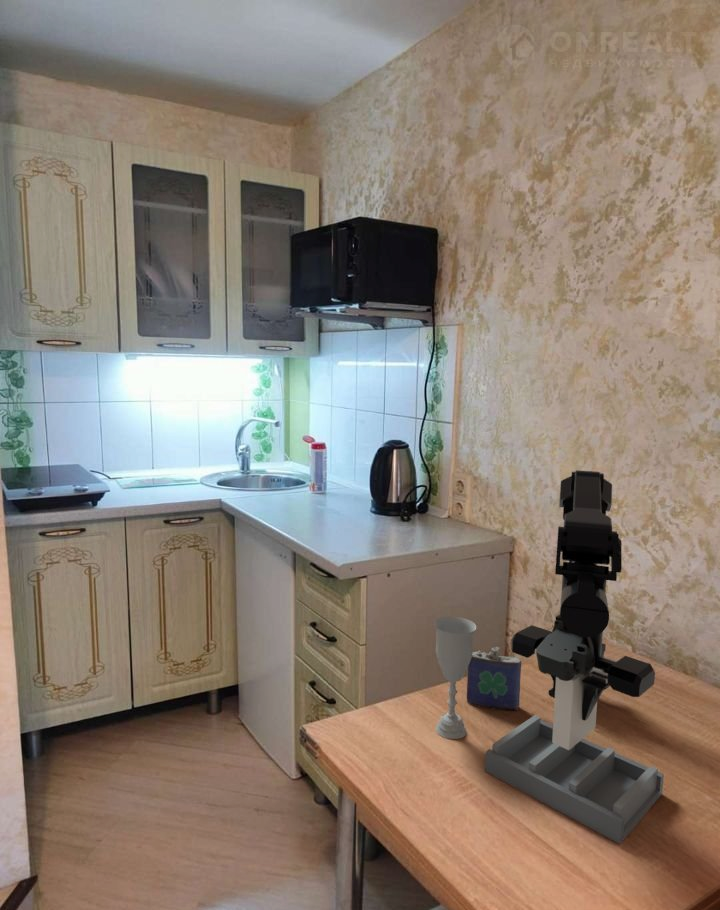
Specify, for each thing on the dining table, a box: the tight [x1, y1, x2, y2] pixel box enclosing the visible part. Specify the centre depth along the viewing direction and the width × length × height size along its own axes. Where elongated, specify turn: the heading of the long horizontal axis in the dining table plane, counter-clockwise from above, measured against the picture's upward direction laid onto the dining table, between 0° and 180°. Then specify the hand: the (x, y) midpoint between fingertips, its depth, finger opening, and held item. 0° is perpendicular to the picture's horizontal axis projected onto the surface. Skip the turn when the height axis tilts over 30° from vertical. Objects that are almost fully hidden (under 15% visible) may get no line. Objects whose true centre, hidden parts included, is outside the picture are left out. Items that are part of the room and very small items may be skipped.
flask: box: [466, 646, 522, 712], centre depth 110 cm, size 9×3×11 cm, turn 74°
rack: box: [484, 714, 665, 845], centre depth 89 cm, size 20×14×4 cm
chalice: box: [433, 616, 477, 740], centre depth 101 cm, size 7×7×18 cm
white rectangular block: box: [552, 672, 598, 750], centre depth 88 cm, size 2×8×10 cm, turn 134°
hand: (575, 715), depth 88 cm, fingers closed on white rectangular block, 2 cm apart
